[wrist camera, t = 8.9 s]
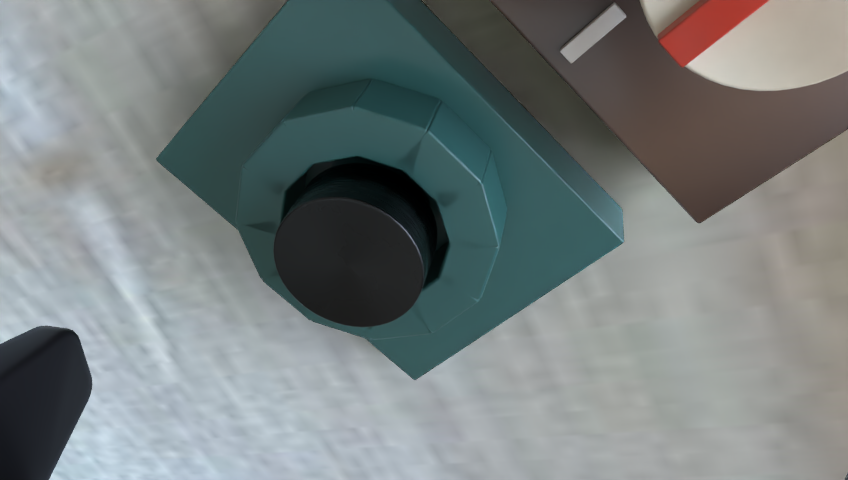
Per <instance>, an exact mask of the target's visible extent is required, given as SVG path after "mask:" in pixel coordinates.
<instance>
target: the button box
mask: <svg viewBox="0 0 848 480" xmlns="http://www.w3.org/2000/svg"><path fill="white" fill-rule="evenodd" d="M156 160H157V161H158V162H159V163H160V164H161V165H162V166H163V167H165V168H166V169H167V170H168V171H169V172H170V173H172V174H173V175H174V176H175V177H176V178H178V179H179V180H180V181H181V182H182V183H183V184H185V185H186V186H187V187H188V188H189V189H190V190H192V191H193V192H194V193H195V194H196V195H197V196H199V197H200V198H201V199H202V200H203V201H205V202H206V203H207V204H208V205H209V206H210V207H212V208H213V209H214V210H215V211H216V212H217V213H219V214H220V215H221V216H222V217H223V218H224V219H226V220H227V221H228V222H229V223H230V224H232V225H233V226H234V227H235V228H236V229H237V230H238V231H239V233H240V235H241V237H242V239H243V242H244V244H245V246H246V248H247V250H248V252H249V254H250V256H251V259H252V261H253V263H254V265H255V267H256V269H257V271H258V273H259V276H260V278H261V279H262V280H263V282H265V283H266V284H267V285H268V286H269V287H271V288H272V289H273V290H274V291H275V292H277V293H278V294H279V295H280V296H281V297H283V298H284V299H285V300H286V301H287V302H289V303H290V304H291V305H292V306H293V307H294V308H296V309H297V310H298V311H299V312H300V313H302V314H303V315H304V316H305V317H306V318H308V319H309V320H312V321H313V322H316V323H319V324H322V325H325V326H328V327H331V328H335V329H338V330H341V331H344V332H347V333H350V334H353V335H356V336H360V337H363V338H365V339H367V340H368V341H369V342H370V343H371V344H372V345H374V346H375V347H376V348H377V349H378V350H380V351H381V352H382V353H383V354H384V355H385V356H387V357H388V358H389V359H390V360H391V361H392V362H394V363H395V364H396V365H397V366H398V367H399V368H401V369H402V370H403V371H404V372H405V373H407V374H408V375H409V376H410V377H411V378H412V379H414V380H416V379H418V378H419V377H421V376H422V375H424V374H425V373H427V372H428V371H430V370H431V369H433V368H434V367H436V366H437V365H439V364H440V363H442V362H443V361H445V360H446V359H448V358H449V357H451V356H452V355H454V354H455V353H457V352H458V351H460V350H462V349H463V348H465V347H466V346H468V345H469V344H471V343H472V342H474V341H475V340H477V339H478V338H480V337H481V336H483V335H484V334H486V333H487V332H489V331H490V330H492V329H493V328H495V327H496V326H498V325H499V324H501V323H502V322H504V321H505V320H507V319H508V318H510V317H512V316H513V315H515V314H516V313H518V312H519V311H521V310H522V309H524V308H525V307H527V306H528V305H530V304H531V303H533V302H534V301H536V300H537V299H539V298H540V297H542V296H543V295H545V294H546V293H548V292H549V291H551V290H552V289H554V288H555V287H557V286H558V285H560V284H562V283H563V282H565V281H566V280H568V279H569V278H571V277H572V276H574V275H575V274H577V273H578V272H580V271H581V270H583V269H584V268H586V267H587V266H589V265H590V264H592V263H593V262H595V261H596V260H598V259H599V258H601V257H602V256H604V255H605V254H607V253H608V252H610V251H612V250H613V249H615V248H616V247H618V246H619V245H621V244H622V243H623V242H624V231H623V211H622V209H621V208H620V207H619V205H618V204H617V203H616V202H615V201H614V200H613V199H612V198H611V197H610V196H609V195H608V194H607V193H606V192H605V191H604V190H603V189H602V188H601V187H600V186H599V185H598V184H597V183H596V182H595V181H594V180H593V179H592V178H591V176H590V175H589V174H588V173H587V172H586V171H585V170H584V169H583V168H582V167H581V166H580V165H579V164H578V163H577V162H576V161H575V160H574V159H573V158H572V157H571V156H570V155H569V154H568V153H567V152H566V151H565V150H564V148H563V147H562V146H561V145H560V144H559V143H558V142H557V141H556V140H555V139H554V138H553V137H552V136H551V135H550V134H549V133H548V132H547V131H546V130H545V129H544V128H543V127H542V126H541V125H540V124H539V123H538V122H537V121H536V119H535V118H534V117H533V116H532V115H531V114H530V113H529V112H528V111H527V110H526V109H525V108H524V107H523V106H522V105H521V104H520V103H519V102H518V101H517V100H516V99H515V98H514V97H513V96H512V95H511V94H510V93H509V92H508V90H507V89H506V88H505V87H504V86H503V85H502V84H501V83H500V82H499V81H498V80H497V79H496V78H495V77H494V76H493V75H492V74H491V73H490V72H489V71H488V70H487V69H486V68H485V67H484V66H483V65H482V64H481V63H480V61H479V60H478V59H477V58H476V57H475V56H474V55H473V54H472V53H471V52H470V51H469V50H468V49H467V48H466V47H465V46H464V45H463V44H462V43H461V42H460V41H459V40H458V39H457V38H456V37H455V36H454V35H453V34H452V32H451V31H450V30H449V29H448V28H447V27H446V26H445V25H444V24H443V23H442V22H441V21H440V20H439V19H438V18H437V17H436V16H435V15H434V14H433V13H432V12H431V11H430V10H429V9H428V8H427V7H426V6H425V5H424V3H423V2H422V1H421V0H288V1H287V2H286V3H285V4H284V5H283V7H282V8H281V9H280V10H279V11H278V13H277V14H276V15H275V16H274V17H273V19H272V20H271V21H270V22H269V23H268V25H267V26H266V27H265V28H264V29H263V31H262V32H261V33H260V34H259V35H258V37H257V38H256V39H255V40H254V41H253V43H252V44H251V45H250V46H249V47H248V49H247V50H246V51H245V52H244V53H243V55H242V56H241V57H240V58H239V59H238V61H237V62H236V63H235V64H234V65H233V67H232V68H231V69H230V70H229V71H228V73H227V74H226V75H225V76H224V77H223V79H222V80H221V81H220V82H219V83H218V85H217V86H216V87H215V88H214V89H213V91H212V92H211V93H210V94H209V95H208V97H207V98H206V99H205V100H204V101H203V103H202V104H201V105H200V106H199V107H198V109H197V110H196V111H195V112H194V113H193V115H192V116H191V117H190V118H189V119H188V121H187V122H186V123H185V124H184V125H183V127H182V128H181V129H180V130H179V132H178V133H177V134H176V135H175V136H174V138H173V139H172V140H171V141H170V142H169V144H168V145H167V146H166V147H165V148H164V150H163V151H162V152H161V153H160V154H159V156H158V157H157V158H156ZM348 163H365V164H372V165H376V166H380V167H383V168H386V169H388V170H391V171H393V172H395V173H397V174H399V175H400V176H402V177H403V178H405V179H406V180H408V181H409V182H410V183H411V184H412V185H414V186H415V187H416V188H417V189H418V190H419V191H420V193H421V194H422V195H423V196H424V198H425V199H426V200H427V202H428V204H429V206H430V207H431V209H432V212H433V214H434V217H435V220H436V224H437V233H438V237H437V246H436V250H435V253H434V256H433V259H432V262H431V265H430V268H429V271H428V274H427V277H426V280H425V283H424V286H423V289H422V291H421V294H420V296H419V298H418V300H417V301H416V303H415V304H414V305H413V307H412V308H411V309H410V310H409V311H408V312H406V313H405V314H404V315H403V316H401V317H399V318H398V319H396V320H394V321H392V322H389V323H386V324H383V325H379V326H373V327H352V326H345V325H341V324H337V323H334V322H331V321H329V320H326V319H324V318H322V317H320V316H318V315H316V314H314V313H313V312H311V311H310V310H308V309H307V308H305V307H304V306H303V305H302V304H300V303H299V302H298V301H297V300H296V299H295V298H294V297H293V296H292V294H291V293H290V292H289V291H288V290H287V288H286V287H285V285H284V284H283V282H282V280H281V278H280V276H279V274H278V271H277V269H276V265H275V261H274V253H273V247H274V239H275V234H276V232H277V229H278V227H279V225H280V223H281V222H282V220H283V219H284V217H285V216H286V214H287V213H288V212H289V210H290V209H291V207H292V206H293V204H294V203H295V201H296V200H297V199H298V197H299V196H300V194H301V193H302V191H303V190H304V189H305V187H306V186H307V184H308V183H309V182H310V181H311V180H312V179H313V178H314V177H315V176H317V175H318V174H319V173H321V172H323V171H324V170H326V169H329V168H331V167H334V166H338V165H341V164H348Z"/></svg>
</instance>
